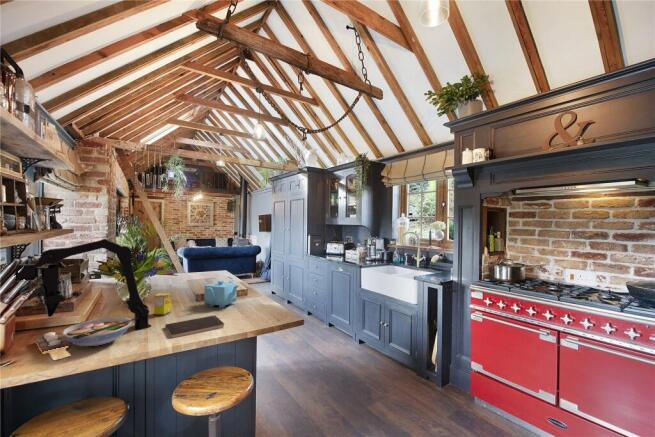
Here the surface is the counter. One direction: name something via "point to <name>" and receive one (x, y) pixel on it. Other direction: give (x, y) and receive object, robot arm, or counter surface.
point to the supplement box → (162, 304)
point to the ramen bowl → (97, 331)
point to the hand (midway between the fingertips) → (50, 316)
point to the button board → (45, 347)
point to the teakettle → (220, 293)
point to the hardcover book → (194, 326)
